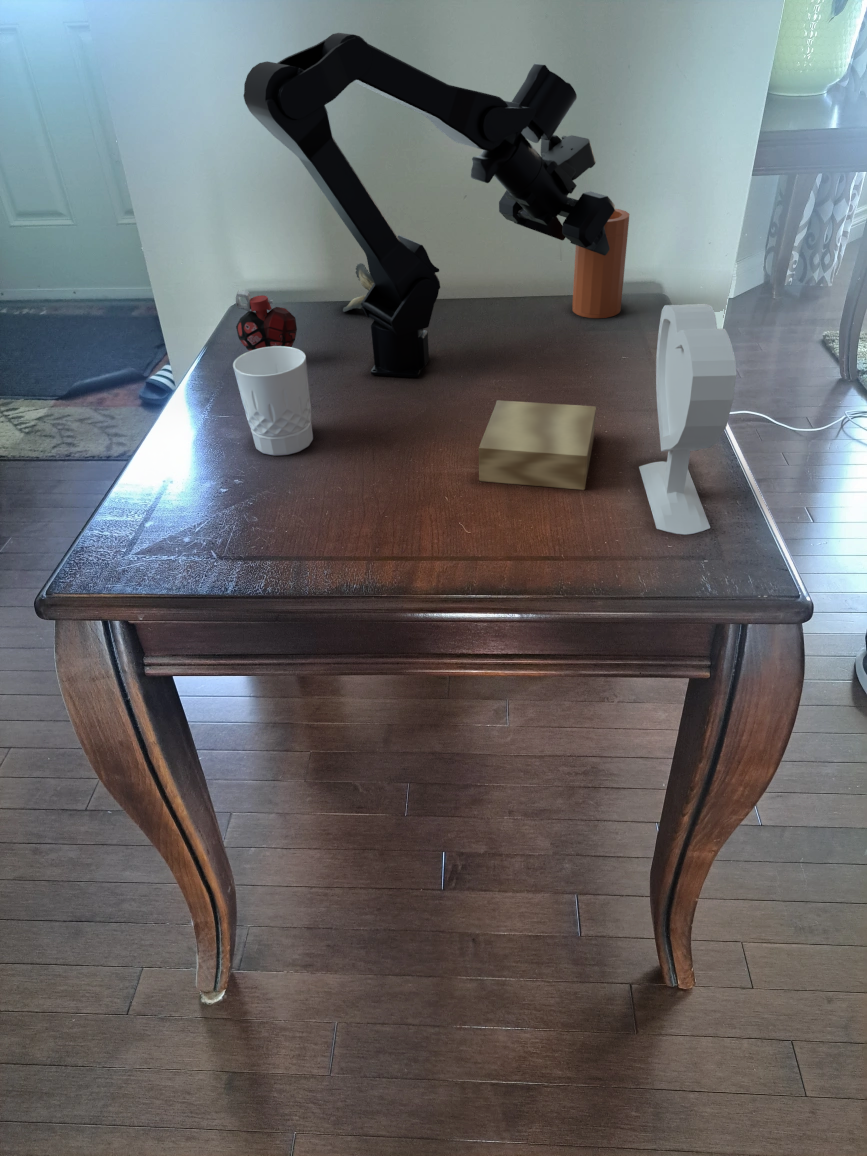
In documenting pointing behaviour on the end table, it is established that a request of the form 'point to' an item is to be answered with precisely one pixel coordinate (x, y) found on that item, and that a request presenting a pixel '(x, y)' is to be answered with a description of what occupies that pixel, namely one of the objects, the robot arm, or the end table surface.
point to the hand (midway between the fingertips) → (585, 244)
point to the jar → (602, 272)
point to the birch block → (538, 444)
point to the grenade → (264, 323)
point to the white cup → (276, 398)
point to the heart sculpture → (687, 410)
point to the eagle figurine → (366, 283)
